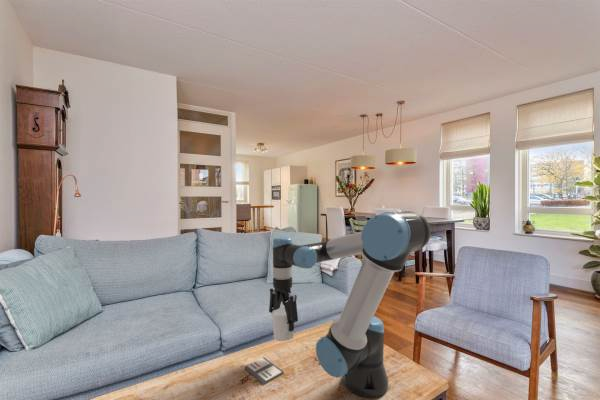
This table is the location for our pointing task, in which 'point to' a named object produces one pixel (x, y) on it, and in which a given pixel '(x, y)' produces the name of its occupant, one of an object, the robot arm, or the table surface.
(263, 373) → the label board
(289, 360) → the table surface
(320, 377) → the table surface
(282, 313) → the white cup
